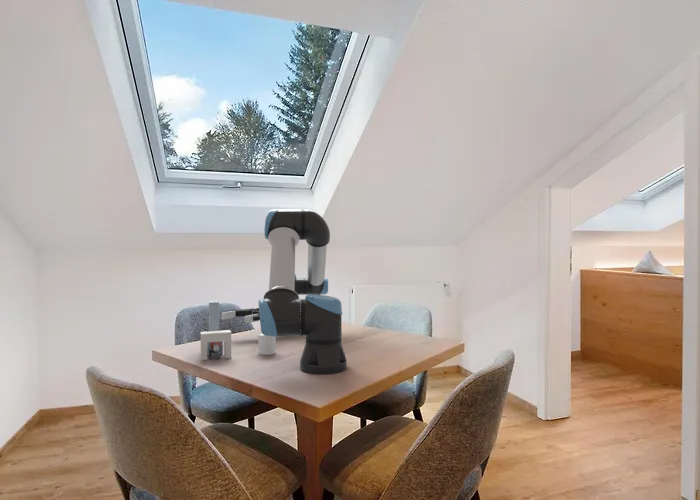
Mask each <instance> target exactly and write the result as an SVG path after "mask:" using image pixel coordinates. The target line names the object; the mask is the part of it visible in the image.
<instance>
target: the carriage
mask: <svg viewBox="0 0 700 500" xmlns="http://www.w3.org/2000/svg"><path fill="white" fill-rule="evenodd" d="M208 331H220V300H209V301H208ZM219 348H220V352H221V356H222V355H224V341H221V342H220V347H219ZM210 350H214V349H212V348H211V342H207V357H211V354H210Z"/></svg>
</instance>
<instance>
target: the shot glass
mask: <svg viewBox="0 0 700 500" xmlns="http://www.w3.org/2000/svg"><path fill="white" fill-rule="evenodd" d="M276 341H277V337H274V336H265V335H263V334H262V332H260V333H257V343H258V345H257V346H258V354H259V355H264V356H268V355H269V356H270V355H273V354H275V353H276V343H277V342H276Z"/></svg>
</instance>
